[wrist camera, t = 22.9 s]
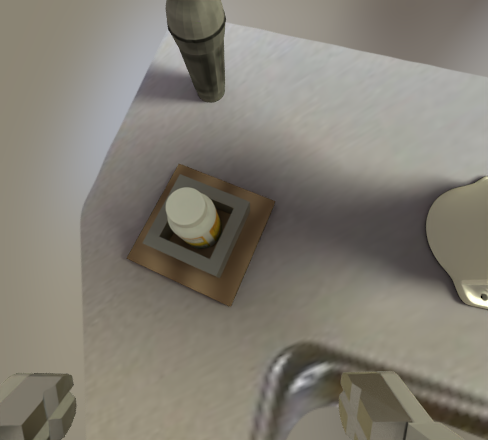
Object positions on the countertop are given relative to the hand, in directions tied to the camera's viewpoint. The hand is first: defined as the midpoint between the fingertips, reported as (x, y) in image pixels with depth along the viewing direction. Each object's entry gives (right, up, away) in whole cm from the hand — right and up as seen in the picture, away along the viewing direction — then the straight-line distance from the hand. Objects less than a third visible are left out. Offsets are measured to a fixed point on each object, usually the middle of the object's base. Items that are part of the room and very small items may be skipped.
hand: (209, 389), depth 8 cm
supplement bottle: (-4, +4, +27) cm, 28 cm away
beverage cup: (-4, +27, +35) cm, 44 cm away
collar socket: (-4, +4, +28) cm, 29 cm away
